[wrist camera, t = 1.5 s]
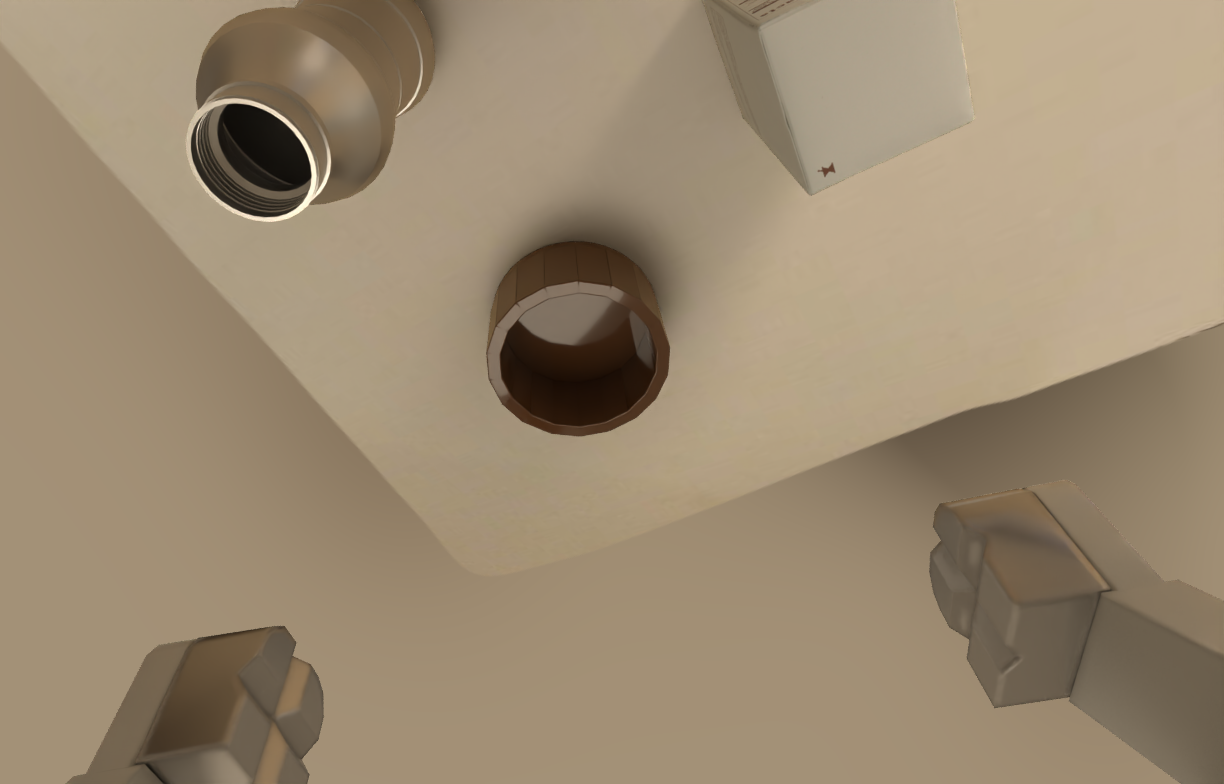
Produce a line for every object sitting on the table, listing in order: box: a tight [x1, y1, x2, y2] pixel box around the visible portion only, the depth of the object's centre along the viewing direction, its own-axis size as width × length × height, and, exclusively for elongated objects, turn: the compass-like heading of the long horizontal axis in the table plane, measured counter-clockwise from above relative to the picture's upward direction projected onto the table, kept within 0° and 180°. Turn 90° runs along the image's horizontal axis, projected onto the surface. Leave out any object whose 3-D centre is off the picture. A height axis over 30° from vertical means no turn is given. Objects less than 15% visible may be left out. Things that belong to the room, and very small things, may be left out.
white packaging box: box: [703, 0, 975, 196], centre depth 34 cm, size 7×7×13 cm
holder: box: [486, 241, 670, 436], centre depth 46 cm, size 11×11×6 cm
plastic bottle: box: [186, 0, 435, 222], centre depth 30 cm, size 6×7×20 cm
